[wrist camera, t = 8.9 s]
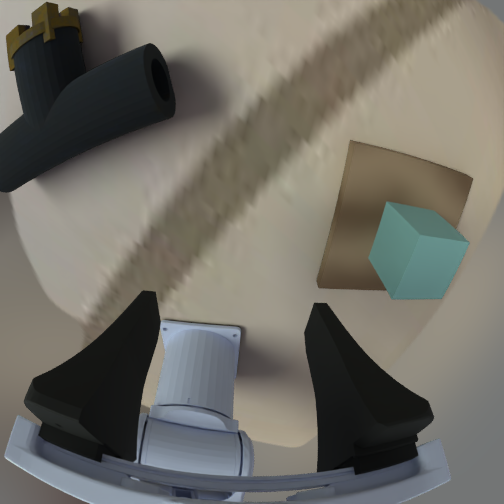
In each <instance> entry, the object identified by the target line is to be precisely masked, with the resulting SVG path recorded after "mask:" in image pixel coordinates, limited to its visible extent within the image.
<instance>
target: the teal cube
mask: <svg viewBox="0 0 504 504" xmlns="http://www.w3.org/2000/svg"><path fill="white" fill-rule="evenodd" d="M469 243H470V242H469V241H467V240H466V239H465V238H464V237H463V236H462V235H461V234H460V233H459V232H458V231H457V230H456V229H455V228H454V227H453V226H451V225H450V224H449V223H448V222H447V221H446V220H445V219H444V218H442V217H441V216H440V215H439V214H438V213H437V212H435V211H433V210H428V209H424V208H419V207H414V206H409V205H404V204H398V203H393V202H386V205H385V208H384V212H383V215H382V218H381V222H380V225H379V228H378V231H377V234H376V237H375V240H374V243H373V246H372V249H371V252H370V255H369V257H368V259H369V260H370V262H371V264H372V265H373V267H374V269H375V270H376V272H377V274H378V276H379V277H380V279H381V281H382V282H383V284H384V286H385V288H386V290H387V291H388V293H389V295H390V297H391V299H442V297H443V296H444V294H445V292H446V290H447V288H448V286H449V285H450V283H451V281H452V279H453V277H454V275H455V273H456V271H457V269H458V267H459V265H460V263H461V261H462V259H463V256H464V254H465V252H466V250H467V248H468V245H469Z"/></svg>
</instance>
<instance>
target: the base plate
mask: <svg viewBox="0 0 504 504" xmlns="http://www.w3.org/2000/svg"><path fill="white" fill-rule="evenodd" d="M472 181H473V178H471V177H470V176H468V175H466V174H464V173H461V172H458V171H456V170H453V169H450V168H447V167H445V166H442V165H439V164H436V163H433V162H430V161H427V160H424V159H420V158H417V157H414V156H410V155H407V154H404V153H400V152H396V151H393V150H389V149H385V148H381V147H377V146H373V145H369V144H365V143H360V142H356V141H351V140H350V144H349V149H348V154H347V159H346V164H345V169H344V174H343V178H342V183H341V187H340V192H339V196H338V201H337V205H336V209H335V213H334V217H333V221H332V225H331V229H330V233H329V237H328V241H327V245H326V248H325V252H324V256H323V259H322V263H321V267H320V270H319V274H318V277H317V280H316V281H317V284H318V287H319V288H328V289H355V290H386V288H385V286H384V284H383V282H382V281H381V279H380V277H379V276H378V274H377V272H376V270H375V269H374V267H373V265H372V264H371V262H370V260H369V259H368V257H369V255H370V252H371V249H372V246H373V243H374V240H375V237H376V234H377V231H378V228H379V225H380V222H381V218H382V215H383V212H384V208H385V205H386V202H393V203H398V204H404V205H409V206H414V207H419V208H424V209H428V210H433V211H435V212H437V213H438V214H439V215H440V216H441V217H442V218H444V219H445V220H446V221H447V222H448V223H449V224H450V225H451V226H453V227H454V228H455V229H456V228H457V225H458V223H459V220H460V217H461V214H462V212H463V209H464V206H465V203H466V200H467V197H468V194H469V191H470V188H471V184H472Z"/></svg>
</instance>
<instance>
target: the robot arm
mask: <svg viewBox="0 0 504 504" xmlns="http://www.w3.org/2000/svg"><path fill="white" fill-rule="evenodd" d="M160 328H161V333H162V338H163V342H164V347H165V357H164V361H163V365H162V370H161V374H160V379H159V383H158V388H157V392H156V397H155V402H154V405H151V409H150V414H149V415H148V414H146V413H141V414H140V407H141V400H142V394H143V388H144V384H145V380H146V376H147V373H148V370H149V367H150V363H151V360H152V357H153V354H154V351H155V347H156V344H157V341H158V336H159V330H160ZM235 334H237V335H235ZM304 334H305V346H306V354H307V359H308V363H309V368H310V373H311V377H312V382H313V387H314V392H315V398H316V410H317V426H318V461H317V473H308V474H298V475H285V476H257V477H256V476H254V477H253V476H252V474H253V467H254V449H253V444H252V441H251V439H250V438H249V437H248V435H247V434H246V432H245V431H242V430H238V420H233V400H234V379H235V378H236V374H237V365H238V356H239V346H240V337H241V329H240V328H239V327H235V326H221V325H208V324H197V323H187V322H177V321H168V320H162V321H161V320H160V315H159V309H158V303H157V297H156V292H153V291H144V290H143V291H142V292H141V293H140V294H139V295H138V296H137V297H136V299H135V300H134V301H133V302H132V303H131V304H130V305H129V306H128V307H127V309H126V310H125V311H124V312H123V313H122V314H121V315H120V316H119V317H118V318H117V319H116V320H115V321H114V322H113V323H112V324H111V325H110V326H109V327H108V328H107V329H106V330H105V331H104V332H103V333H102V334H101V335H100V336H99V337H98V338H97V339H96V340H94V341H93V342H92V343H91V344H90V345H88V346H87V347H86V348H85V349H83V350H82V351H80V352H79V353H78V354H76V355H75V356H74V357H72V358H71V359H69V360H68V361H66V362H64V363H63V364H61V365H59V366H57V367H56V368H54V369H52V370H50V371H48V372H46V373H44V374H42V375H39V376H37V377H35V378H34V379H33V380H32V383H31V385H30V387H29V389H28V392H27V394H26V396H25V399H24V404H25V406H26V407H27V408H28V409H29V410H30V411H31V412H32V413H33V414H34V415H35V416H36V417H37V418H39V419H40V420H41V421H42V425H41V427H40V426H39V425H37V424H35V423H33V422H32V421H30V420H28V419H26V418H24V417H22V416H20V415H18V416H17V418H16V421H15V424H14V427H13V430H12V432H11V435H10V439H9V442H8V445H7V448H6V452H5V455H4V456H5V458H6V459H8V460H9V461H11V462H12V463H14V464H15V465H17V466H18V467H20V468H22V469H24V470H25V471H27V472H28V473H30V474H32V475H33V476H35V477H37V478H38V479H40V480H42V481H44V482H46V483H48V484H50V485H51V486H53V487H55V488H57V489H59V490H61V491H63V492H65V493H67V494H70V495H72V496H74V497H76V498H78V499H81V500H83V501H85V502H88V503H90V504H400V503H402V502H405V501H407V500H410V499H412V498H414V497H417V496H419V495H421V494H423V493H425V492H428V491H430V490H432V489H434V488H436V487H438V486H440V485H442V484H444V483H446V482H448V481H450V480H451V475H450V471H449V468H448V464H447V460H446V457H445V453H444V450H443V447H442V443H441V440H440V439H439V438H438V439H435V440H433V441H430V442H427V443H425V444H422V445H420V446H418V447H416V445H415V442H417V441H418V437H417V433H419V432H420V431H421V430H423V429H424V428H425V427H427V426H428V425H429V424H430V423H431V422H432V421H433V419H434V415H433V413H432V410H431V407H430V404H429V402H428V401H427V400H426V399H424V398H422V397H420V396H418V395H417V394H415V393H413V392H412V391H410V390H409V389H407V388H405V387H404V386H403V385H401V384H400V383H399V382H397V381H396V380H395V379H393V378H392V377H391V376H390V375H388V374H387V373H386V372H385V371H384V370H383V369H381V368H380V367H379V366H378V365H377V364H376V363H375V362H374V361H373V360H372V359H371V358H370V357H369V356H368V355H367V354H366V353H365V352H364V351H363V349H362V348H361V347H360V346H359V345H358V344H357V343H356V341H355V340H354V339H353V338H352V336H351V335H350V334H349V333H348V331H347V330H346V329H345V327H344V326H343V325H342V323H341V322H340V321H339V319H338V318H337V317H336V315H335V314H334V312H333V311H332V310H331V308H330V307H329V306H328V304H327V303H314V305H313V308H312V311H311V314H310V317H309V320H308V323H307V326H306V329H305V332H304ZM318 487H323V488H319V489H313V490H307V491H301V492H297V493H296V495H293V496H289V497H287V498H286V499H287V501H279V502H243V499H244V495H245V492H276V491H290V490H302V489H310V488H318Z"/></svg>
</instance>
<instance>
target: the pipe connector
mask: <svg viewBox="0 0 504 504" xmlns="http://www.w3.org/2000/svg"><path fill="white" fill-rule="evenodd" d="M82 42H83V39H82V33H81V27H80V21H79V15H78V10H77V9H73V8H70V7H68V8H66V9H65V10H63V11H62V12H60V13H59V11H58V4H54V3H49V2H46V3H44V4H43V5H42V6H40V7H39V8H38V9H36V10H35V11H34V12H33V13H32V27H31V28H30V26H29V25H17V26H16V27H15V28H14V29H13V30H12V31H11V32H10V33H9V34H8V35H7V36H6V43H7V53H8V61H9V68H10V71H15V76H16V82H17V87H18V92H19V96H20V101H21V105H22V109H23V113H24V114H23V115H22V116H21V117H19V118H18V119H17V120H16V121H14V122H13V123H12V124H11V125H10V126H8V127H7V128H6V129H5V130H4V131H3V132H2V133H0V191H1V192H6V193H7V192H12V191H14V190H16V189H17V188H19V187H20V186H22V185H23V184H25V183H27V182H28V181H30V180H32V179H33V178H35V177H37V176H39V175H40V174H42V173H44V172H46V171H47V170H49V169H51V168H53V167H55V166H57V165H59V164H60V163H62V162H64V161H66V160H68V159H70V158H72V157H74V156H76V155H78V154H80V153H83V152H85V151H87V150H89V149H91V148H93V147H96V146H98V145H100V144H102V143H105V142H107V141H109V140H112V139H114V138H117V137H119V136H122V135H124V134H127V133H129V132H132V131H135V130H137V129H140V128H143V127H146V126H149V125H151V124H154V123H157V122H160V121H163V120H166V119H170V118H172V117H173V116H174V113H175V95H174V91H173V87H172V83H171V79H170V75H169V71H168V67H167V64H166V62H165V60H164V58H163V56H162V54H161V52H160V51H159V49H158V48H157V47H156V46H155V45H153V44H151V43H149V44H146V45H144V46H141V47H139V48H136V49H134V50H131V51H129V52H127V53H125V54H122V55H120V56H118V57H116V58H114V59H112V60H110V61H108V62H106V63H104V64H102V65H100V66H98V67H96V68H94V69H92V70H90V71H88V72H87V73H86V70H85V65H84V61H83V56H82V51H81V46H80V43H82Z"/></svg>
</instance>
